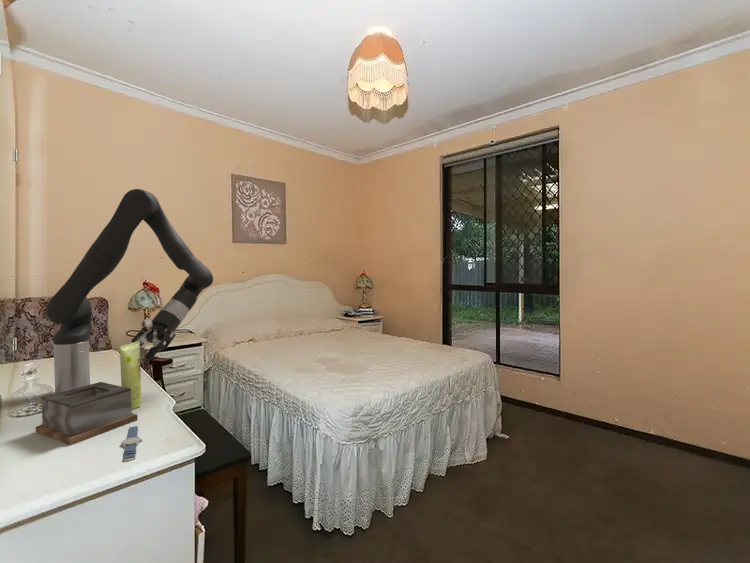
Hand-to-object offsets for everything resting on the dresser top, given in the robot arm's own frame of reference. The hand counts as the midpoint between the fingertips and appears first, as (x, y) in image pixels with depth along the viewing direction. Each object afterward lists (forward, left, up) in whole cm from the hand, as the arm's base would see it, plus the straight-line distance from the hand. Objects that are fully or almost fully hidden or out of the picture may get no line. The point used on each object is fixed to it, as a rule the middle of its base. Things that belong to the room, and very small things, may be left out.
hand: (137, 357), depth 114 cm
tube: (0, -2, -15) cm, 15 cm away
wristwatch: (+23, -16, -15) cm, 32 cm away
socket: (+3, -15, -15) cm, 21 cm away
